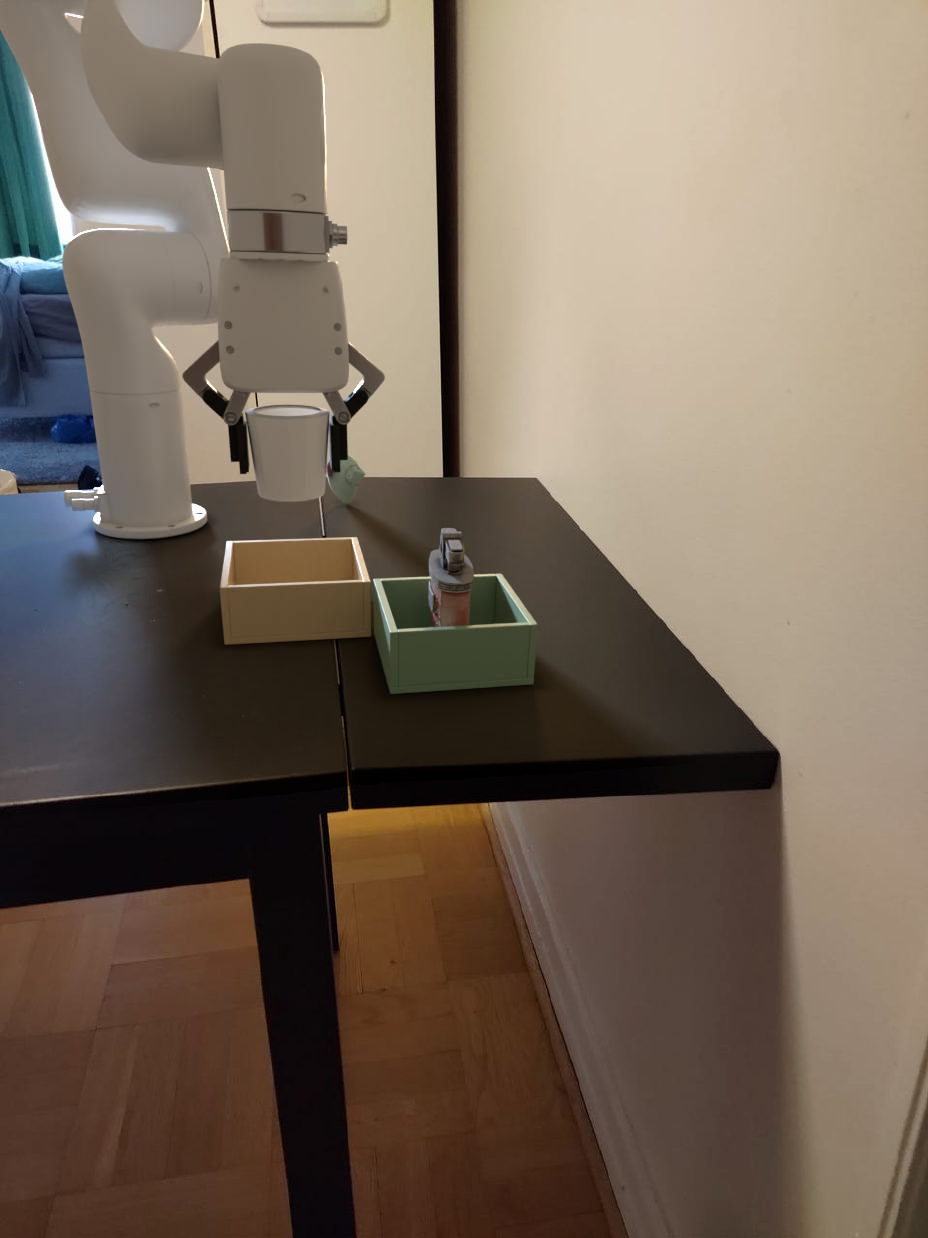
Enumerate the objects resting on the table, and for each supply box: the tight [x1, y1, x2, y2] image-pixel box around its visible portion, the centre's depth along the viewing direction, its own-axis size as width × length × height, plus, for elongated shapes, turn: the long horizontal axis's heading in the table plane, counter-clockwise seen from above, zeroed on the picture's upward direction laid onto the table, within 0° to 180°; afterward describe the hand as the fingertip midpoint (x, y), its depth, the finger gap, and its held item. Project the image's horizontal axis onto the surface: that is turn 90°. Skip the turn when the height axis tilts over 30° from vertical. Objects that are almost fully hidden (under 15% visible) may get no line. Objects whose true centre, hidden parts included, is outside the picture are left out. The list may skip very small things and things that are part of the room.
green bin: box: [372, 573, 539, 695], centre depth 69 cm, size 11×11×5 cm
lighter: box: [428, 527, 475, 628], centre depth 68 cm, size 8×3×10 cm, turn 7°
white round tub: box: [244, 404, 331, 503], centre depth 71 cm, size 7×7×7 cm
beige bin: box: [219, 536, 372, 646], centre depth 76 cm, size 12×12×5 cm
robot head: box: [326, 453, 367, 504], centre depth 110 cm, size 8×4×7 cm, turn 31°
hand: (290, 467), depth 72 cm, fingers closed on white round tub, 6 cm apart
